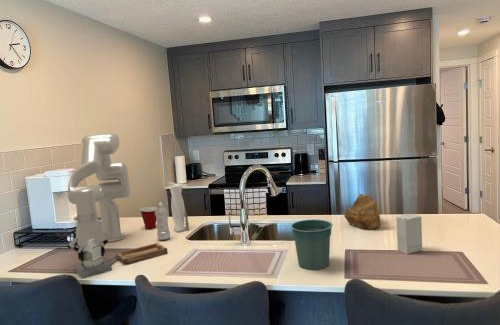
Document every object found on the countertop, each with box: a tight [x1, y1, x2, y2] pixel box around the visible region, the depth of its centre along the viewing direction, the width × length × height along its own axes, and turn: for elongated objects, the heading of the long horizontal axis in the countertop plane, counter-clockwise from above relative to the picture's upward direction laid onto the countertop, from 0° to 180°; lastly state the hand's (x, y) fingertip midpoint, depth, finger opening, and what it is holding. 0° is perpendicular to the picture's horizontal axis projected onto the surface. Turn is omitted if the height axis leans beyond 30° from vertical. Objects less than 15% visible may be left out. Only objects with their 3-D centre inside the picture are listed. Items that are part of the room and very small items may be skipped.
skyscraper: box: [168, 182, 190, 233], centre depth 216 cm, size 8×8×28 cm
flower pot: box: [290, 218, 334, 270], centre depth 151 cm, size 16×16×16 cm
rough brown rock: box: [343, 193, 381, 230], centre depth 201 cm, size 23×17×15 cm
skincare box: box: [396, 213, 423, 255], centre depth 158 cm, size 8×6×15 cm
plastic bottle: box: [155, 201, 171, 241], centre depth 200 cm, size 6×7×20 cm
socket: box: [74, 256, 113, 279], centre depth 162 cm, size 12×12×3 cm
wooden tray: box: [115, 242, 169, 266], centre depth 177 cm, size 12×20×2 cm, turn 126°
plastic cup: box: [139, 206, 158, 230], centre depth 226 cm, size 11×11×12 cm
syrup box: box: [82, 238, 103, 269], centre depth 162 cm, size 6×6×14 cm
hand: (92, 258), depth 162 cm, fingers closed on syrup box, 7 cm apart
